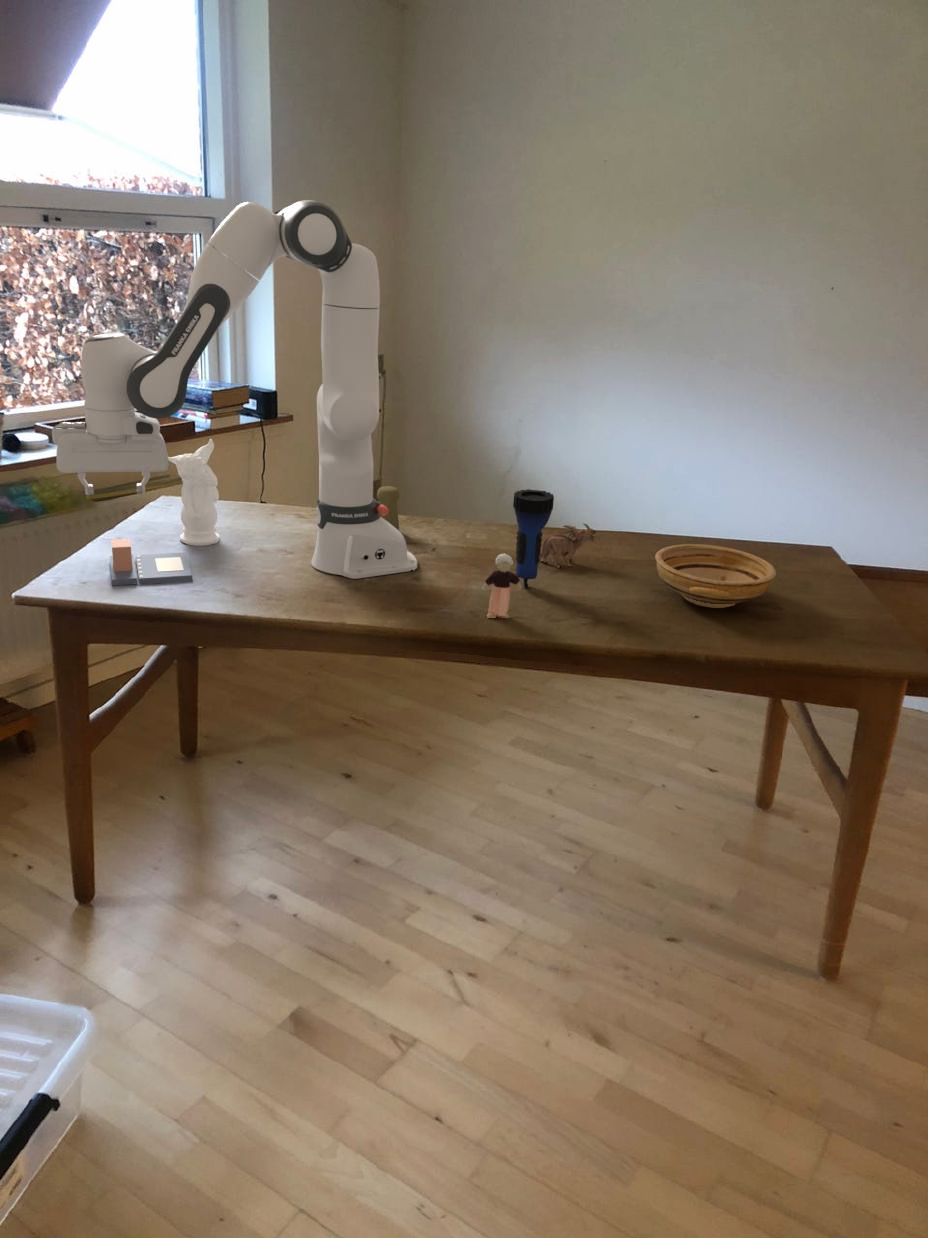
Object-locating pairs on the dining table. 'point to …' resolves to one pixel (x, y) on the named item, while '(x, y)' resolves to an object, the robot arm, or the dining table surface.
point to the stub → (122, 563)
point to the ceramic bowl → (714, 573)
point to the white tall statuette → (198, 497)
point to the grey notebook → (163, 568)
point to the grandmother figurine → (501, 587)
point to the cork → (389, 504)
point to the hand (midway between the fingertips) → (115, 493)
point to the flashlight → (530, 529)
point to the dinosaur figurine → (566, 544)
